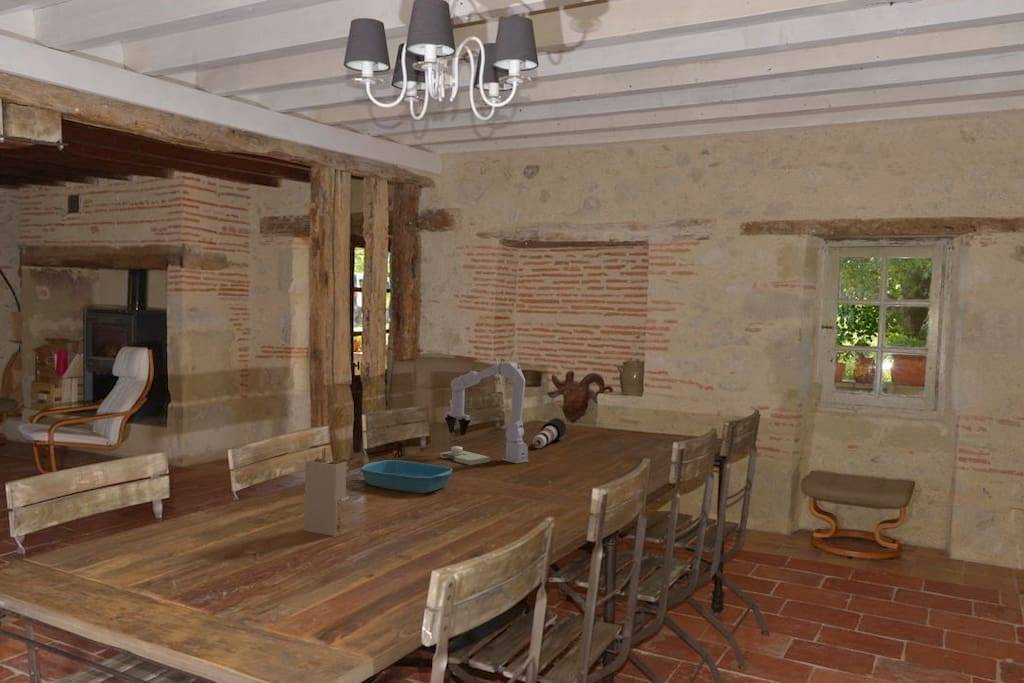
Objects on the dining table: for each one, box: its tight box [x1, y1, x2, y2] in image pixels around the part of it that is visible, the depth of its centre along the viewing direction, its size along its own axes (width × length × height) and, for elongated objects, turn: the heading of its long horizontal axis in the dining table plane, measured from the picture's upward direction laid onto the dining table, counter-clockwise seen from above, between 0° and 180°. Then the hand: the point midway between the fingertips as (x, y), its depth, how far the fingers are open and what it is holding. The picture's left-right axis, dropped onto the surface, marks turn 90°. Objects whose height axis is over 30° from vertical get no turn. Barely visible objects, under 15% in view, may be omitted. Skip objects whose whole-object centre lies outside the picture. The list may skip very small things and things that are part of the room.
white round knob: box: [450, 445, 464, 461], centre depth 361 cm, size 5×5×5 cm
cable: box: [532, 418, 567, 449], centre depth 402 cm, size 10×34×10 cm, turn 156°
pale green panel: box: [439, 450, 491, 466], centre depth 359 cm, size 20×12×2 cm, turn 45°
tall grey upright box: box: [303, 447, 350, 537], centre depth 246 cm, size 8×12×26 cm
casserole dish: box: [360, 459, 453, 494], centre depth 308 cm, size 37×22×7 cm, turn 63°
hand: (457, 433), depth 367 cm, fingers open, 7 cm apart
